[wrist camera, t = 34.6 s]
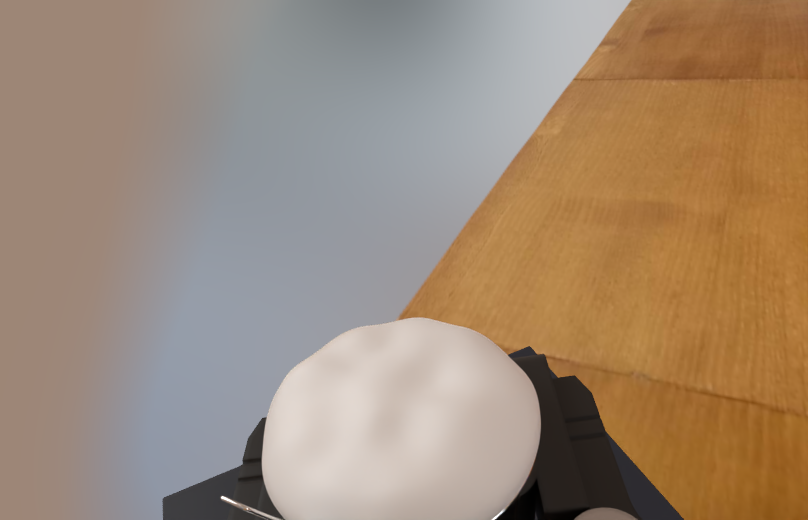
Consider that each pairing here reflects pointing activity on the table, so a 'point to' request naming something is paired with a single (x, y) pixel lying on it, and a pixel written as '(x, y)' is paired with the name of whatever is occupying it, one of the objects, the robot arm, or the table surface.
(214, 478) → the case lid
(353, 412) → the milkshake
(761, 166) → the table surface
